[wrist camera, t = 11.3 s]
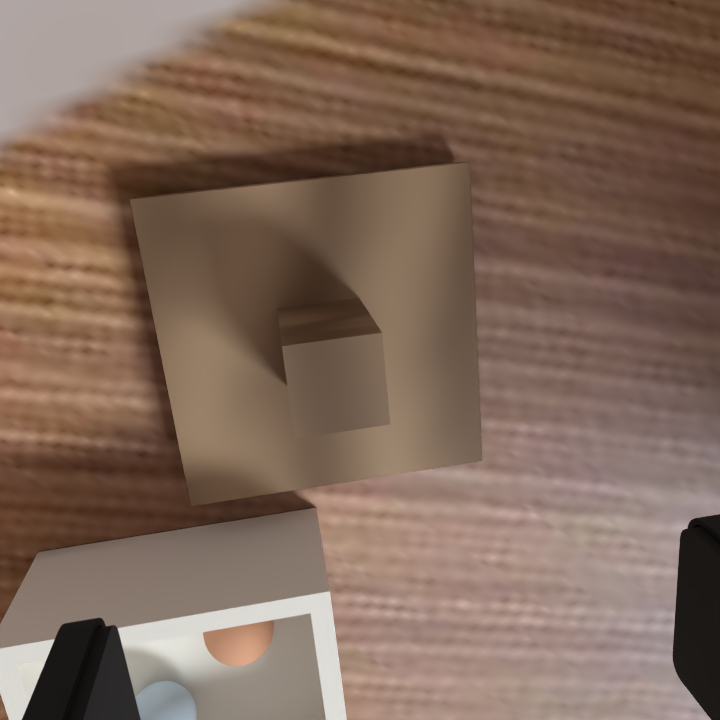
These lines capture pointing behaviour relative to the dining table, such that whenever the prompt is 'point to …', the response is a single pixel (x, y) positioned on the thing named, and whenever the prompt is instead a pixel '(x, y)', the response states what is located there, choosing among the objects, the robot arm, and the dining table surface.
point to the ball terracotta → (239, 643)
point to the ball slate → (166, 702)
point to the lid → (316, 327)
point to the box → (191, 615)
